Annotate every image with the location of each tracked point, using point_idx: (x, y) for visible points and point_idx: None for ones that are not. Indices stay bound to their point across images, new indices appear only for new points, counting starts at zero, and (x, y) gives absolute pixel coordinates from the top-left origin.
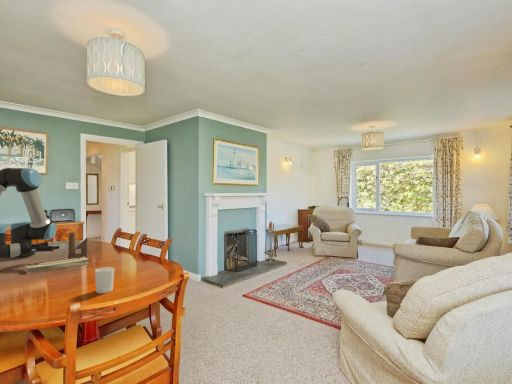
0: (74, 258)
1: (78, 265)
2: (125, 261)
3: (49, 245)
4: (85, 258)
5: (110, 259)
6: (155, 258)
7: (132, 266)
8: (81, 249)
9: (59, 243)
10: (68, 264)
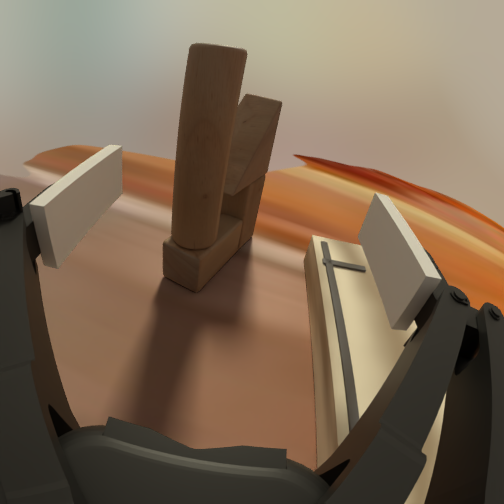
0: (334, 278)
1: None
2: None
3: (63, 242)
4: None
5: (337, 209)
6: (390, 179)
7: (461, 234)
8: (252, 187)
9: (118, 173)
10: None
